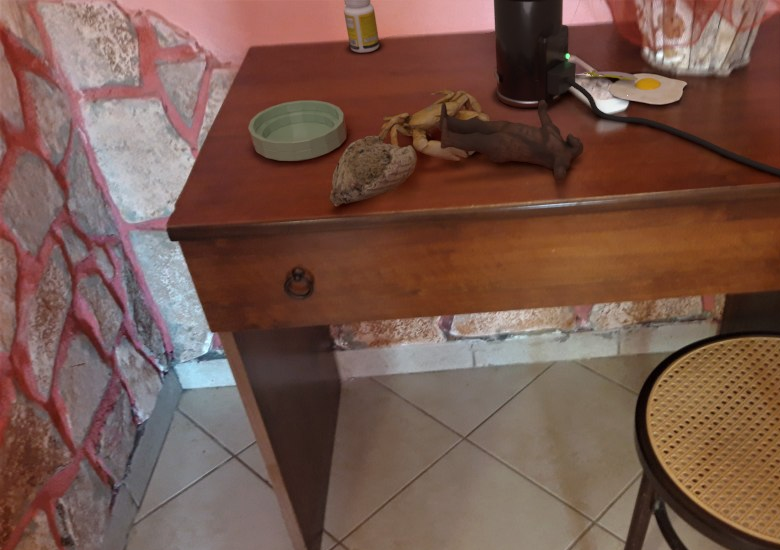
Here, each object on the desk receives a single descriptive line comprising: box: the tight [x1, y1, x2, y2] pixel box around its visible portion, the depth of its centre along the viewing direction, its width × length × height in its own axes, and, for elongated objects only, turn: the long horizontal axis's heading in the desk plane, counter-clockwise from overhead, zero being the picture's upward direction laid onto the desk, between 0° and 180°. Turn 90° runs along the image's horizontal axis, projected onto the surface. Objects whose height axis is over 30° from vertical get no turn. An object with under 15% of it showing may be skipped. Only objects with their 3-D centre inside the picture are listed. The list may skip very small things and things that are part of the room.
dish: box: [247, 99, 348, 162], centre depth 101 cm, size 12×12×3 cm
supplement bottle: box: [343, 0, 380, 54], centre depth 123 cm, size 5×5×8 cm
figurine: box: [438, 100, 584, 181], centre depth 94 cm, size 18×5×18 cm
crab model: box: [377, 89, 491, 162], centre depth 99 cm, size 16×13×6 cm
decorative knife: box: [584, 69, 638, 82], centre depth 113 cm, size 12×1×5 cm
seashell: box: [329, 135, 418, 207], centre depth 90 cm, size 11×7×10 cm
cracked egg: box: [608, 73, 688, 105], centre depth 111 cm, size 10×11×1 cm
